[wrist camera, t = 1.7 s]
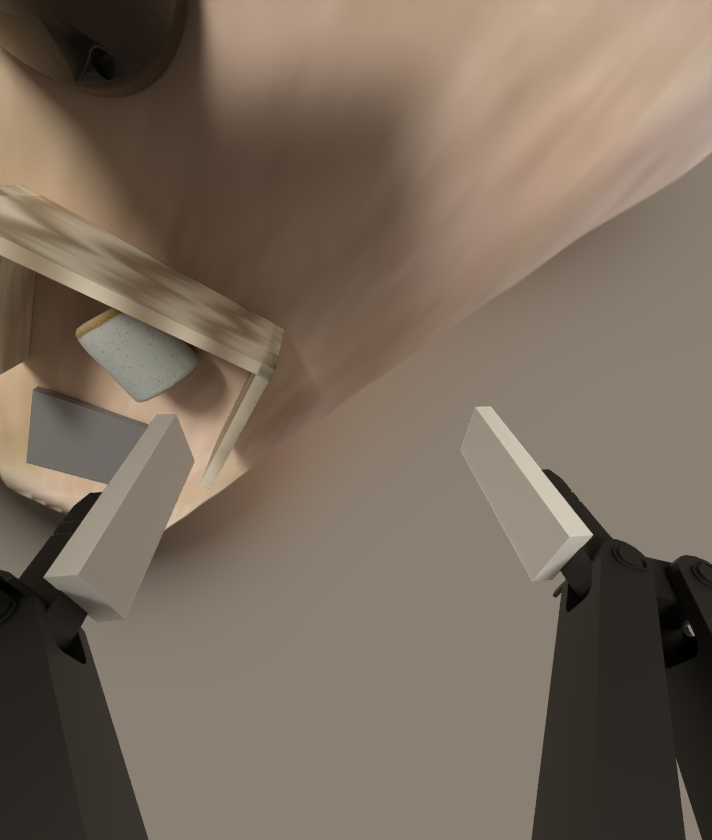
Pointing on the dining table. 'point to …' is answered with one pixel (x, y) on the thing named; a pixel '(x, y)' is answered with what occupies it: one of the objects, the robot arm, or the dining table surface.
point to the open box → (125, 298)
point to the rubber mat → (79, 436)
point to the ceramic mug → (137, 353)
